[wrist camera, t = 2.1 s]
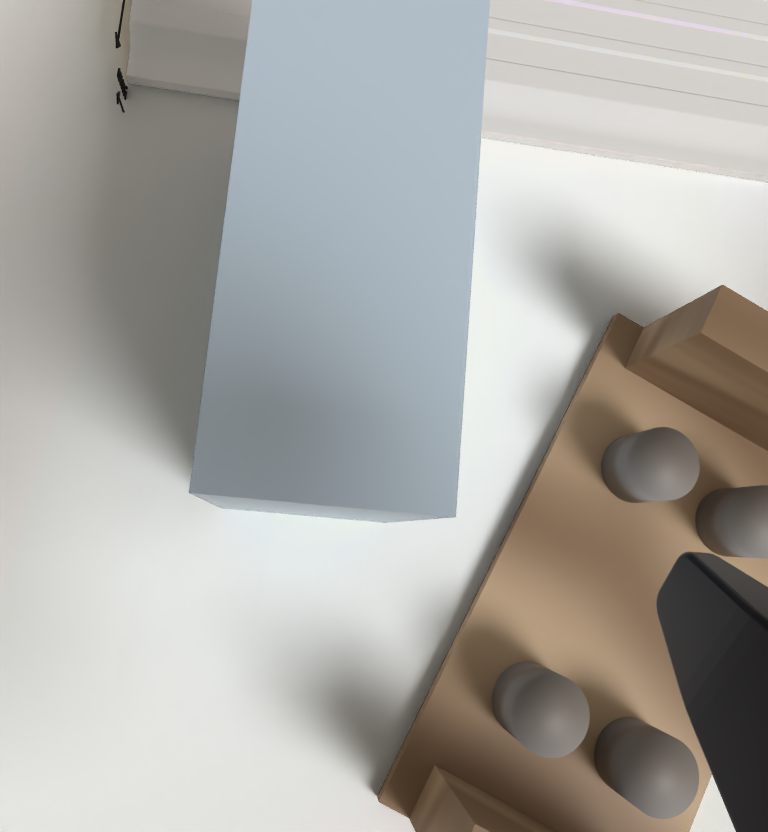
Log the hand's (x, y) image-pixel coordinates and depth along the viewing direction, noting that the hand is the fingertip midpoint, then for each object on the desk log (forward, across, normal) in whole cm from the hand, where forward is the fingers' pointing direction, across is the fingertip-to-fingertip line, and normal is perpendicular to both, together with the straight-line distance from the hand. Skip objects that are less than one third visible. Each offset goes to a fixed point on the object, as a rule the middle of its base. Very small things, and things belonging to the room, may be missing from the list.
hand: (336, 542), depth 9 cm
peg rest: (+9, +11, -10) cm, 17 cm away
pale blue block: (+14, 0, -5) cm, 15 cm away
